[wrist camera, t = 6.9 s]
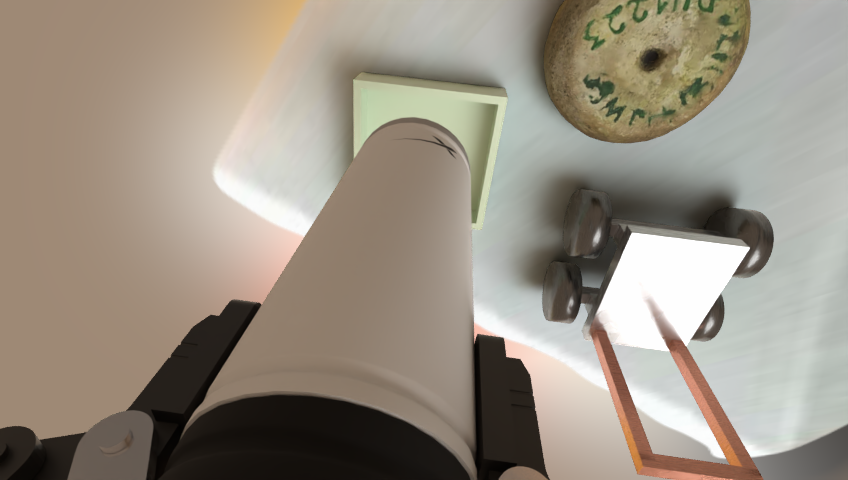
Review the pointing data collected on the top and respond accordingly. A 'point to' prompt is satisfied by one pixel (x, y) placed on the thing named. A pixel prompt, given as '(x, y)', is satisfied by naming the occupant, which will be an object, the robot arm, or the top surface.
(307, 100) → the top surface
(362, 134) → the tray
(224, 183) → the top surface
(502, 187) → the top surface
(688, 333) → the trolley
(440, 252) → the travel mug
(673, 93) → the weight
